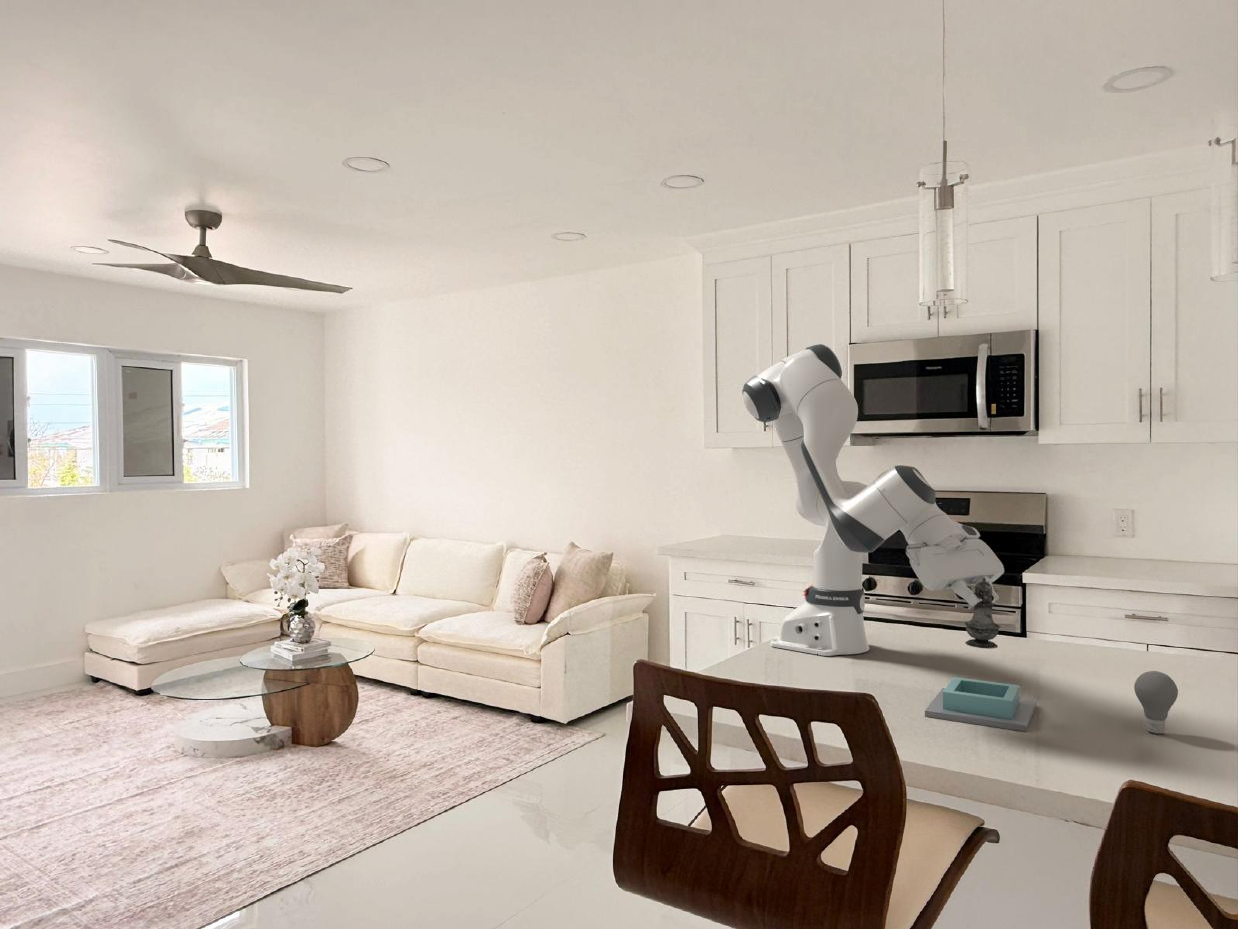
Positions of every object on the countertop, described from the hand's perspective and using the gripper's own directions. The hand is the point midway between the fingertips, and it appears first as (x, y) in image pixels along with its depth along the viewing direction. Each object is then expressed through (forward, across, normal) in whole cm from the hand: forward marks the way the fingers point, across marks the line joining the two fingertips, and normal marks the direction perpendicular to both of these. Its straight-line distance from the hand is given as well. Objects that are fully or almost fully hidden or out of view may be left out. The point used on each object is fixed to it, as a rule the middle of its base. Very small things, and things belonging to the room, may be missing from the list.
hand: (985, 602), depth 149 cm
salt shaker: (+5, 0, +6) cm, 8 cm away
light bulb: (+29, +13, -2) cm, 32 cm away
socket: (+13, 0, +14) cm, 19 cm away
